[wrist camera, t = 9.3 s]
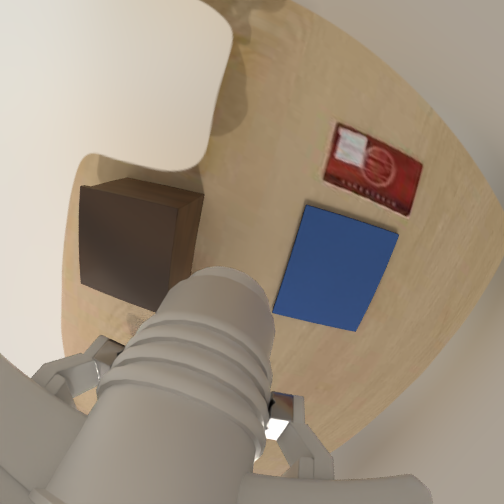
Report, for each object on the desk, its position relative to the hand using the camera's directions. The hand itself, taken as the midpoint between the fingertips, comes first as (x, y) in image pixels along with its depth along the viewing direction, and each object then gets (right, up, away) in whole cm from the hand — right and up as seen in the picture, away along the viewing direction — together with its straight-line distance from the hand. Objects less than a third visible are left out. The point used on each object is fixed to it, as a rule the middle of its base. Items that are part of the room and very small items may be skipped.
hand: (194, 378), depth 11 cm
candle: (+1, +2, +6) cm, 6 cm away
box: (-7, +8, +16) cm, 20 cm away
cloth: (+11, +3, +16) cm, 19 cm away
